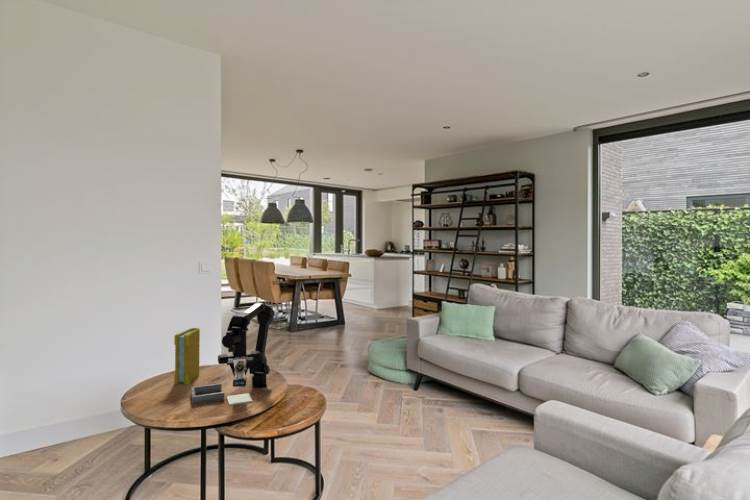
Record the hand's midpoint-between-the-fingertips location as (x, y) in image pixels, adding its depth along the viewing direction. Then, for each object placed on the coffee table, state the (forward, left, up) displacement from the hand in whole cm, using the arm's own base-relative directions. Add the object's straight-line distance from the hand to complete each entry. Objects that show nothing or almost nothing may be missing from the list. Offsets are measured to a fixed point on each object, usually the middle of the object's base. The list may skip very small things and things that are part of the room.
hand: (239, 375), depth 188 cm
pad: (0, 0, -11) cm, 11 cm away
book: (+20, -40, -12) cm, 46 cm away
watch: (0, 0, -5) cm, 5 cm away
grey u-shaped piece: (+13, -9, -11) cm, 19 cm away
